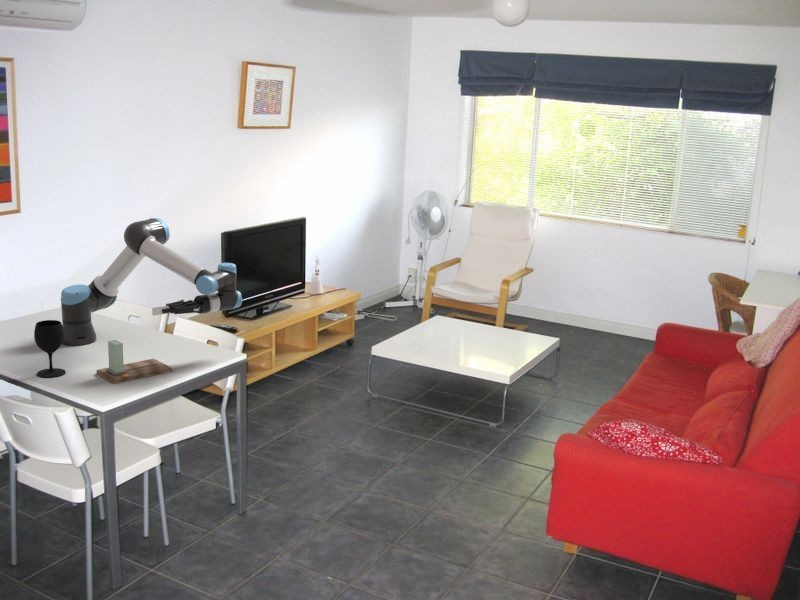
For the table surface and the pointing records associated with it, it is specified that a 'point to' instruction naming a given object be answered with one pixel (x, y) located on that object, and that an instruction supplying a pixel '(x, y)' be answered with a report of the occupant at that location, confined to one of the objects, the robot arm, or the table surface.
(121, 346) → the block
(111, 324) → the table surface
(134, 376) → the brown wooden board
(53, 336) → the wine glass
